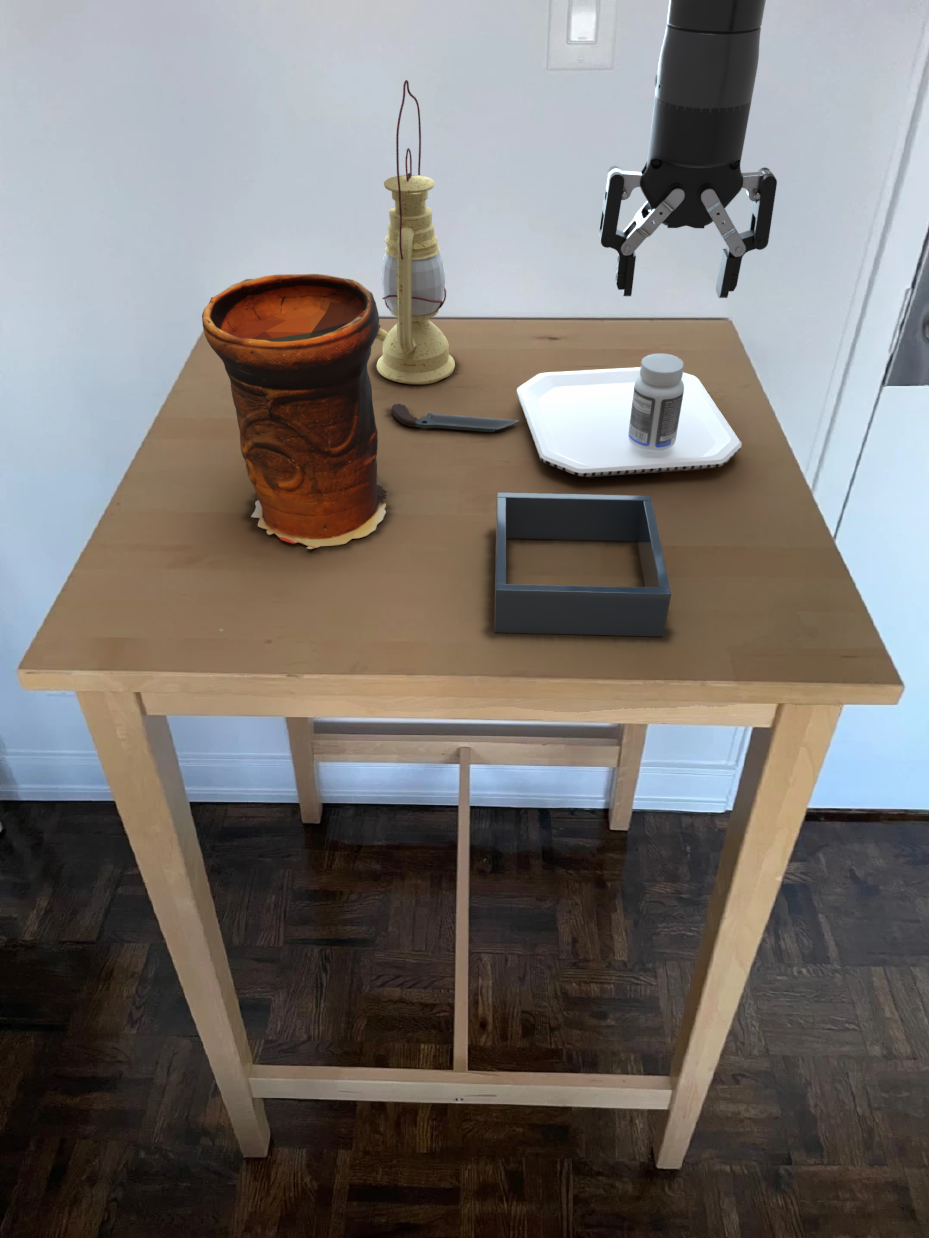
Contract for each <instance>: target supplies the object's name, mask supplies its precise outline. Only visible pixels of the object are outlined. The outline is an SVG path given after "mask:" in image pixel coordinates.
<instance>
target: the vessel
mask: <svg viewBox="0 0 929 1238" xmlns="http://www.w3.org/2000/svg"><path fill="white" fill-rule="evenodd" d="M201 321H202V329H203V333H204V337H205V339H206V341H207V343H208V345H209V346H210V348H211V349H212V350H213V352H214V353H215V354H216V355H217V356H218V358H220V360H221V361H222V362H223V366H224V369H225V372H226V374H227V376H228V378H229V381H230V392H231V396H232V400H233V405H234V408H235V413H236V414H235V415H236V419H237V420H236V421H237V425H238V429H239V445H240V451H241V457H242V458H243V459H244V462H245V469H246V473H247V477H248V479H249V481H250V483H251V485H252V486H253V488H254V491H255V494H256V497H257V500H256V501H255V502H254V505H255V509H254V511H253V513H252V514H251V516H250V518H255V519H258V522H257V527H259V528H260V529H263V530H266V532H265V533H266V534H267V535H268V536H271V535H274V534H275V535H276V536H277V538H279V540H281V541H283V542H286V543H290V544H292V545H293V544H297V543H299V544H302V545H305V546H307V547H306V549H308V550H312V549H317V548H320V547H330V546H331V547H333V546H341V545H345V544H347V543H348V542H350V541H352V539H360V538H363V537H367V536H369V535H370V534H371V533H373V532H374V531H376V530H377V528H378V527H377V526H378V525H379V524H380V523H381V522H382V521H383V520H384V518H385V515H386V513H387V510H386V507H387V504H386V502H385V500H386V497H383V496H385V495H386V494H387V493H388V491H387V490H386V489H384V488H383V486H382V484H381V481H377V480H378V460H377V459H378V458H377V456H378V445H379V444H378V441H379V439H378V438H379V437H378V435H379V432H378V428H377V425H376V417H375V409H374V401H373V388H372V382H371V377H370V374H369V372H368V363H369V360H370V357H371V354H372V346H373V344H374V342H375V340H376V336H377V333H378V328H379V325H380V315H379V311H378V307H377V302H376V300H375V298H374V294H373V292H371V291H370V290H368V289H367V288H366V287H365V286H364V285H363V284H361V283H360V282H359V281H357V280H354V279H351V278H345V277H344V278H343V277H339V276H333V275H328V274H322V273H321V274H320V273H305V274H301V273H299V274H296V273H295V274H293V273H292V274H290V273H289V274H271V275H263V276H259V277H255V278H245V279H243V280H241V281H239V282H236V283H234V284H231V285H230V286H228V287H227V288H226V289H224V290H222V291H221V292H220V293H218V294H216V295H214V296H212V297H210V300H209V302H208V304H207V305H205V307H204V309H203V311H202V314H201Z"/></svg>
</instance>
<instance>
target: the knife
mask: <svg viewBox="0 0 929 1238" xmlns="http://www.w3.org/2000/svg"><path fill="white" fill-rule="evenodd" d="M390 412H391V414H392V416H393V417H394V418H395V419H396V420H397V421H398V422H399V423H401V424H402V425H404V426H408V427H411V428H416V427H418V428H424V429H432V428H433V429H435V428H437V429H450V430H463V431H472V432H473V431H475V432H485V433H486V432H487V433H493V432H495V431H498V430H502V429H505V428H507V427H511V426H514V425H516V424H517V423H519V422H520V420H518V419H506V418H493V417H492V418H491V417H483V416H481V417H480V416H469V415H457V414H442V413H432V412H428V413H427V414H426V415H425V417H423V418H418V417H416V416H412V415H411V414H410V413H409V409H408V407H407V406H406V405H405V404H402V403H394V404H393V405H392V407H391V409H390Z"/></svg>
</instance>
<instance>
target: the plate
mask: <svg viewBox="0 0 929 1238" xmlns="http://www.w3.org/2000/svg"><path fill="white" fill-rule="evenodd" d="M640 368H641V366H637V367H620V368H619V367H618V368H603V369H601V368H600V369H599V368H598V369H584V370H568V371H567V370H565V371H549V372H546V371H545V372H540V373H537V374H535V375H534V376H533V377H531V378H530V379H528V380H526V382H524V383H522V384H520V385H519V386H518V387H517V388H516V395H517V398H518V401H519V404H520V407H521V409H522V412H523V415H524V417H525V420H526V423H527V427H528V430H529V431H530V434H531V437H532V440H533V442H534V446H535V449H536V451H537V455H538V457H539V460H540V461H541V462H542V463H544V464H546V465H548V466H552V467H554V468H556V469H558V470H561V471H563V472H567V473H569V474H572V475H574V476H577V477H585V478H598V477H611V476H612V477H613V476H627V475H629V476H630V475H642V474H643V475H644V474H658V473H672V472H673V473H675V472H688V471H689V472H690V471H699V470H705V469H706V470H707V469H714V468H720V467H722V466H725V465H726V464H727V463H728V462H729V461H730V460H731V459H733V457H734V456H735V455H736V454H737V453H739V452H740V450H741V449H742V441H741V440H740V439H739V437H738V436H737V433H735V431H734V429H733V428H732V427H731V425H730V423H729V422H728V421H727V419H726V417H725V416H724V415H723V413H722V412H721V410H720V409H719V407H718V406H717V404H716V403H715V401H714V400H713V397H712V396H711V395H710V394H709V392H708V391H707V390H706V388H705V386H704V385H703V383H702V382H701V380H700V379H699V378H698V377H697V376H695V375H693V374H689V373H687V372H684V371H683V375H682V379H681V380H682V382H683V384H684V393H683V399H682V405H681V411H680V417H679V423H678V429H677V435H676V440H675V443H674V445H673V446H672V447H670V448H668V449H666V450H662V451H649V450H644V449H640V448H638V447H636V446H634V445H633V444H632V443H631V442H630V440H629V437H628V434H629V425H630V417H631V409H632V400H633V393H634V385H635V381H636V379H637V378H638V377H639V376H640Z"/></svg>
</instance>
